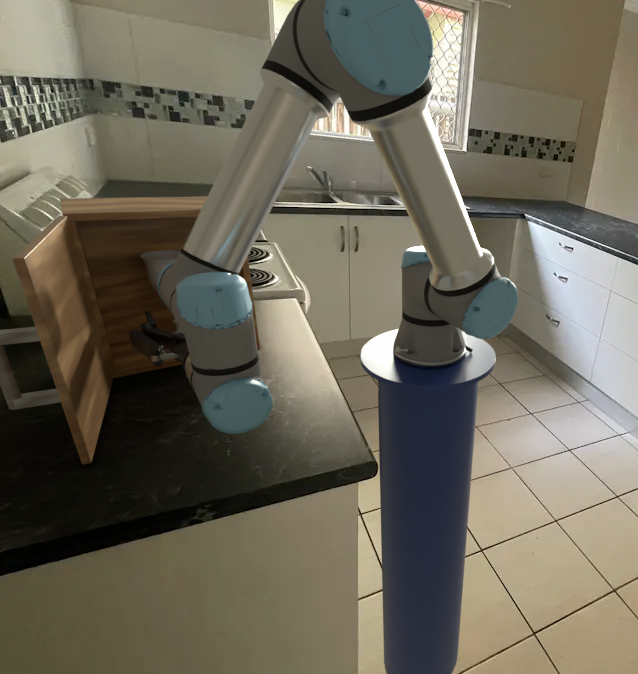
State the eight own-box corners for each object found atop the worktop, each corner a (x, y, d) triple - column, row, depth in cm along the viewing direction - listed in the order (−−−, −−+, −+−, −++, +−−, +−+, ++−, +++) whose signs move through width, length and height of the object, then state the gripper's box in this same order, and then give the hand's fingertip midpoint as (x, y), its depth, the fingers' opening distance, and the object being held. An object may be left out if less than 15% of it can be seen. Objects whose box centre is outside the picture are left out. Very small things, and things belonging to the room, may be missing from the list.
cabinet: (260, 348, 98) (241, 208, 86) (109, 379, 82) (62, 213, 71) (241, 325, 107) (221, 196, 95) (102, 349, 92) (59, 198, 80)
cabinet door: (28, 476, 60) (-58, 261, 49) (66, 386, 79) (9, 216, 67) (91, 462, 63) (24, 258, 52) (113, 379, 82) (67, 215, 71)
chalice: (209, 336, 98) (193, 250, 91) (196, 350, 92) (179, 260, 85) (168, 336, 96) (149, 249, 89) (153, 351, 90) (132, 259, 83)
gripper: (124, 407, 64) (110, 345, 79) (295, 367, 77) (255, 321, 92) (111, 357, 61) (98, 303, 75) (291, 325, 74) (250, 285, 89)
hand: (184, 313), depth 84 cm, fingers open, 10 cm apart
